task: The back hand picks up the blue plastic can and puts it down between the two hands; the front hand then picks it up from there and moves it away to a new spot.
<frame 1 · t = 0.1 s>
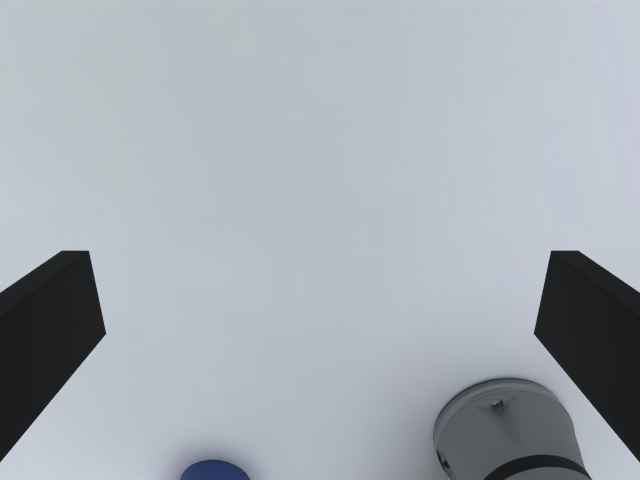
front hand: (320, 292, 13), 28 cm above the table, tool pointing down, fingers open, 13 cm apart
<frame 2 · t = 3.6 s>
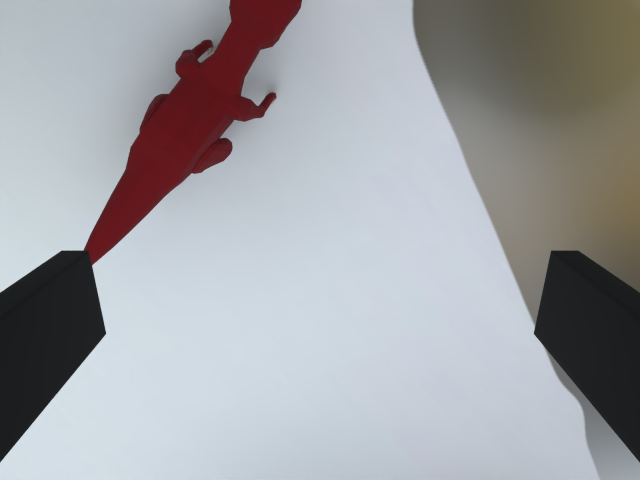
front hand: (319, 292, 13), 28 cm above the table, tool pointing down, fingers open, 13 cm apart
toy 2: (215, 112, 38), on the table
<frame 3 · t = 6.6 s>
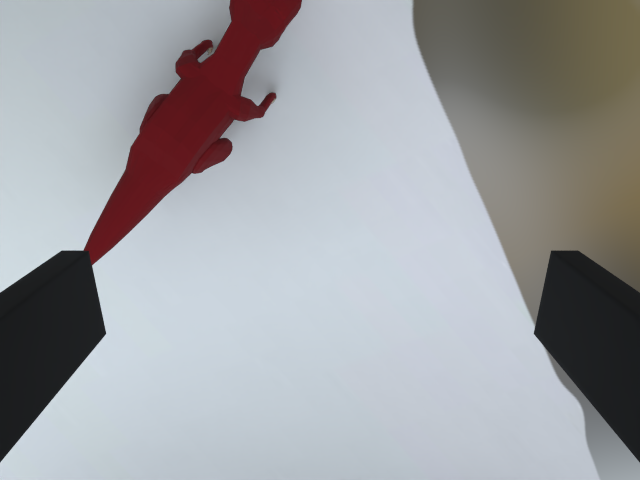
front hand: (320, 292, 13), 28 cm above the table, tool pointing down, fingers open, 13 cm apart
toy 2: (215, 112, 38), on the table
when the back hand's fingers open (3 cm above the table, at t = 9.8 s): can drops 1 cm, on the table.
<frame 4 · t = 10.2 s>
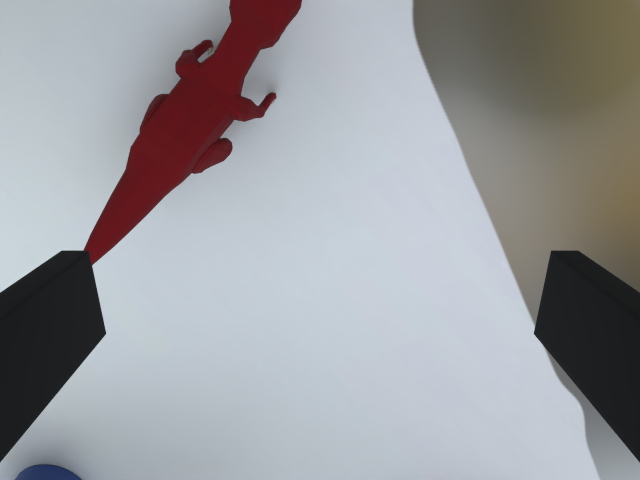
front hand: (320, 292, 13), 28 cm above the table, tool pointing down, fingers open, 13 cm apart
toy 2: (215, 112, 38), on the table
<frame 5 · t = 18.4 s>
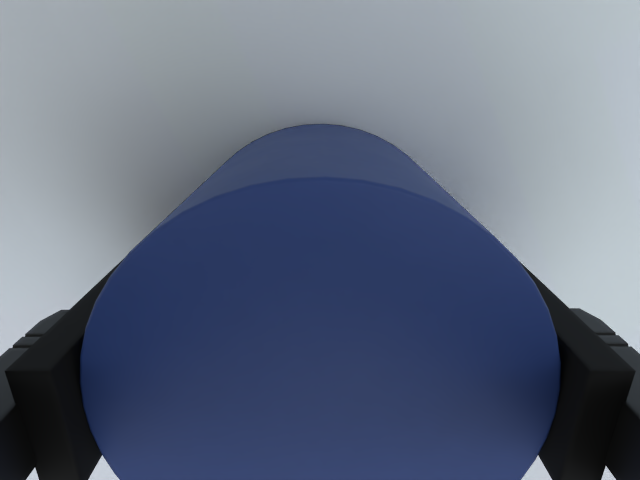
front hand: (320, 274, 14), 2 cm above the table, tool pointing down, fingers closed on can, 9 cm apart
can: (320, 255, 15), on the table, touching front hand
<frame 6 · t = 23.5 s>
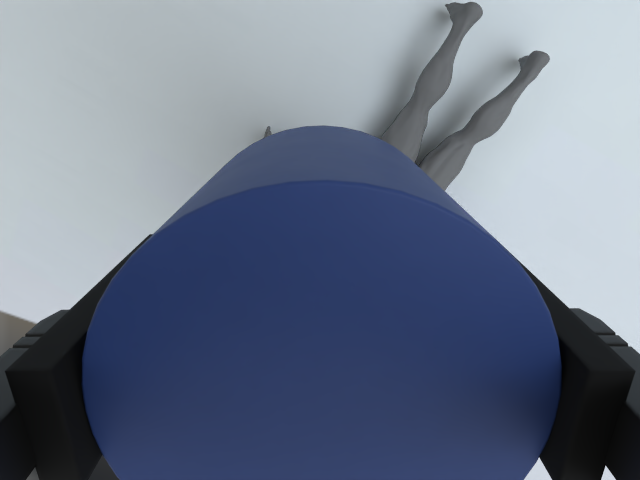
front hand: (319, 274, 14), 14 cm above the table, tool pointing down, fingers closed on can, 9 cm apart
can: (320, 256, 15), point 13 cm above the table, touching front hand
figurine: (391, 184, 27), on the table
when the front hand's fingers open (3 cm above the table, at t = 28.7 s): can drops 1 cm, on the table.
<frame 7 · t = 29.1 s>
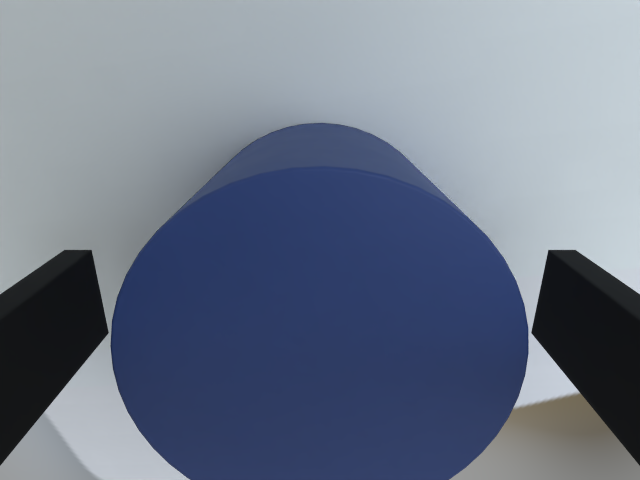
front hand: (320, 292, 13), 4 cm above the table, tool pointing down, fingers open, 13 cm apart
can: (319, 244, 16), on the table
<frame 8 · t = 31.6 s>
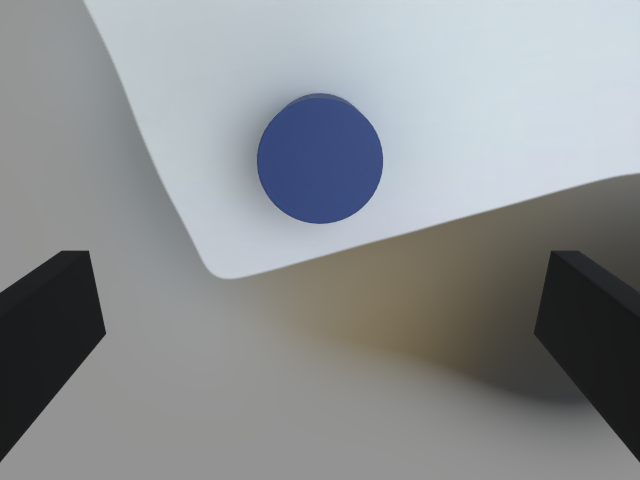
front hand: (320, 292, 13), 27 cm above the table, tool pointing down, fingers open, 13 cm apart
can: (320, 147, 38), on the table
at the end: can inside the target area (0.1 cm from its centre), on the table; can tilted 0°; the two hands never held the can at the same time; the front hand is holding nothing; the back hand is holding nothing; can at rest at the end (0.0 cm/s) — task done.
